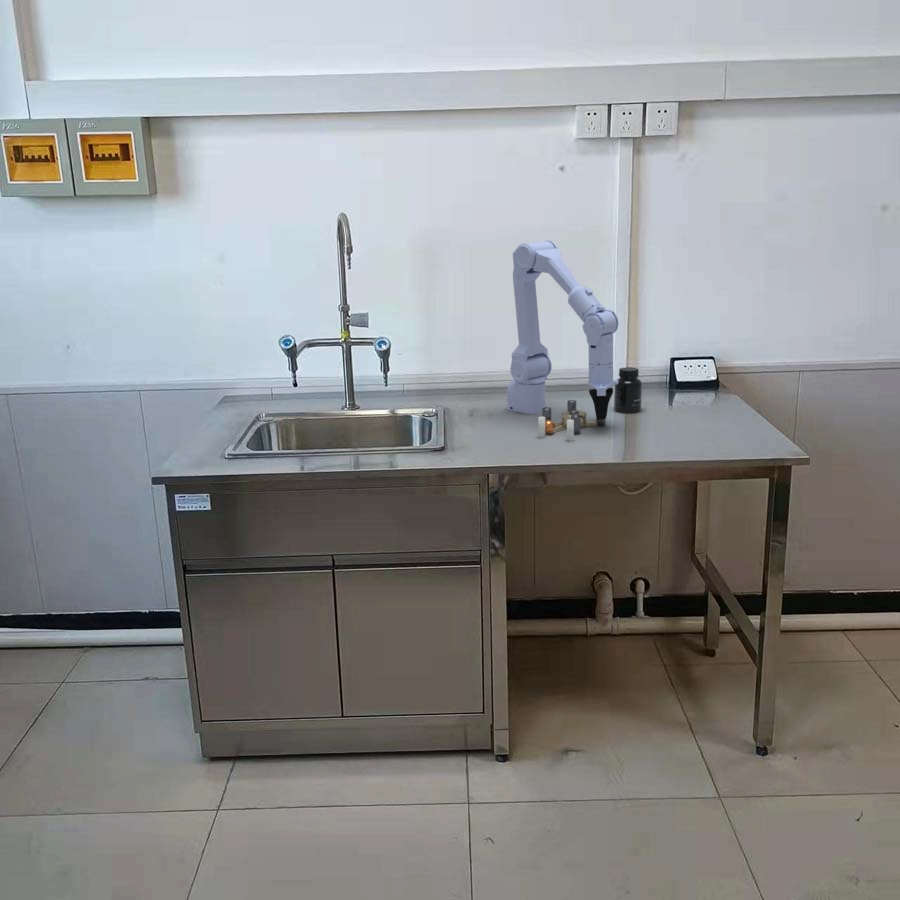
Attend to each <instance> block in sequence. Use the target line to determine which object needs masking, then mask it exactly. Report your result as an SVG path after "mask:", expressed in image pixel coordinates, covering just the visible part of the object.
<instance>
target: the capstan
mask: <svg viewBox="0 0 900 900" xmlns="http://www.w3.org/2000/svg"><path fill="white" fill-rule="evenodd" d="M541 414H542V415H541V416H543V417H545V434H548V435H550V434H551V435H552V434H554V433H557V432H560V431H563V430H567V420H570V419H571V420H574V436H575V435H577V436H578V435H580V434H581V429H584V428H586V427H605V426H606V419H597V418H596V417H595V420H594V421H592V420H589V421H587V412H586V411H583V410H578V409H577V400H575V399H570V400H569V399H568V400H567V409H566V410H565V411H564V410H563V411H562V412H561V415H560V419H561V420H560V421H552V407H547V406H545V407H544V408H542V413H541Z"/></svg>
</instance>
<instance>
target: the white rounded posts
mask: <svg viewBox="0 0 900 900" xmlns="http://www.w3.org/2000/svg"><path fill="white" fill-rule="evenodd" d="M537 421H538V422H537V424H538V426H537V427H538V429H537V431H538V433H537V434H538V436H537V437H538V438H540V439H543V438H546V432H545V417H543V416H542V415H541V416H538V420H537ZM574 436H575V435H574V420H571V419H570V420H567V429H566V442H574V440H575V439H574V438H575V437H574Z"/></svg>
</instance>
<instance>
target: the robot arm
mask: <svg viewBox="0 0 900 900" xmlns="http://www.w3.org/2000/svg"><path fill="white" fill-rule="evenodd" d="M512 260H513V271H512V282H513V283H512V284H513V293H514V306H515V315H516V326H517V336H518V345H517V347H516V348H515V349H514V350H513V352H512V353H511V363H510V374H511V376H512V378H513V379H512V380H510V382H509V383H508V386H507V390H506V406H507V407H506V408H507V411H510V412H515V413H516V412H517V413H521V414H526V415H528V414H530V415H533V414H542V408H544V407H546V381H547V380H548V376H549V375H550V374H551V372H552V370H553V369H552V368H553V366H552V361H551V359H550V355H549V350H548V348H547V347H546V346H545V345H544V344H542V343H541V335H540V334H541V333H540V323H539V311H538V300H537V299H538V298H537V287H536V281H537V279H538V278H539V277H540V276H541V274H542V273H545V274H549V276H550V277H552V278H553V280H554V281H555V282H556V283H557V284H558V285H559V287H560V288H561V289H562V290H563V291H564V292H565V293H566V294H567V295H568V297H567V303H568V305H569V306H570V307H571V309H573V311H574V313H575V314H576V315H577V316H578V317H579V319H580V320H581V321H582V323H583V324H582V330H583V333H584V334H585V336H586V343H587V344H588V381H587V385H588V386H589V387H590V389H589V391H588V393H589V395H590V397H591V399H592V402H593V406H594V413H595V419H596V418H597V419H605V420H606V419H607V416H608V408H609V403H610V400H611V397H612V396H613V393H614V388H613V386H615V384H618V380H617V379H614V334H615V333H616V332H617V330H618V328H619V319H618V316H617V315H616V312H615V311H614V310H611V309H607V308H606V306H605V307H604V305H602V304H601V303H600V301H599V300H598V299H597V298H596V296H595V295H594V294H593V293H594V292H593V289H591V288H589V287H587V286H581V285H580V283H579V282H578V281H577V279H576V278H575V276H574V275H573V273H572V271H571V270H570V269H569V267H568V266H567V263H565V261H564V260H563V259H562V251H561V249H559V248H558V246H557V245H556V243H555V242H553V240H544V241H538V242H528V243H527V242H523V243H520V244H519V245H518V246H517V247H516V249H515V250H514V251H513V252H512ZM591 388H592V389H591Z"/></svg>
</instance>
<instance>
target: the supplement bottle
mask: <svg viewBox="0 0 900 900" xmlns="http://www.w3.org/2000/svg"><path fill="white" fill-rule="evenodd" d="M639 371H640V370H639V368H638V367H621V368H619V370H618V377H619V378H617V379H616V380H618V384H614V398H613V399H614V401H613V411H614V412H616V413H620V414H629V415H631V414H637V413H640V412H641V411H642V397H643V396H642V394H643V393H642V392H643V382H642V381H641V380H640V378H638V377H639V375H640V374H639Z"/></svg>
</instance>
